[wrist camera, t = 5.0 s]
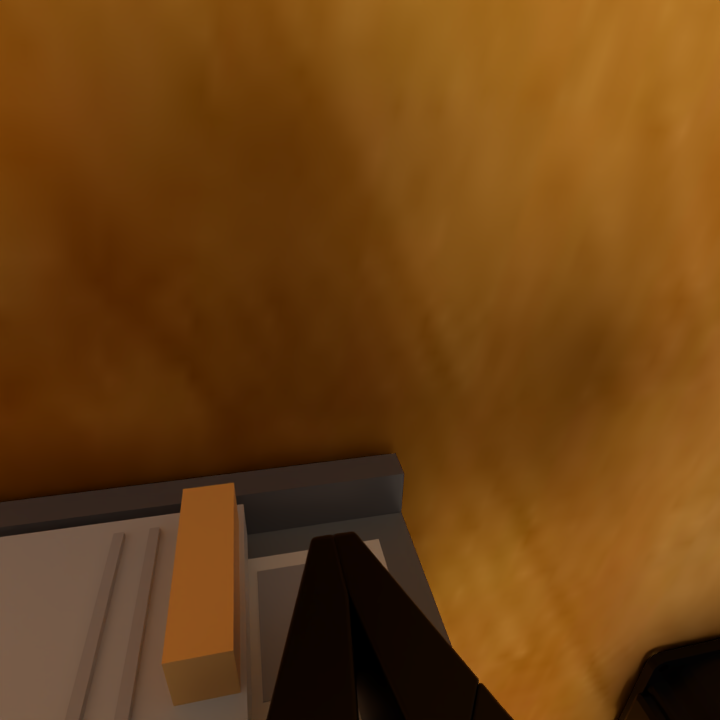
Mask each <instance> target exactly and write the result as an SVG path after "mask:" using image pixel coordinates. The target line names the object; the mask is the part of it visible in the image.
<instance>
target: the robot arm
mask: <svg viewBox="0 0 720 720" xmlns="http://www.w3.org/2000/svg"><path fill="white" fill-rule="evenodd" d="M478 683H479V679H478V678H477V676H476V675H475V674H474V673H473V672H472V671H471V669H470V668H469V667H468V666H467V665H466V663H465V662H464V661H463V660H462V659H461V657H460V656H459V655H458V654H457V653H456V651H455V650H454V649H453V648H452V647H451V646H450V644H449V643H448V642H447V641H446V640H445V638H444V637H443V636H442V635H441V634H440V632H439V631H438V630H437V629H436V628H435V626H434V625H433V624H432V623H431V622H430V621H429V619H428V618H427V617H426V616H425V615H424V613H423V612H422V611H421V610H420V609H419V607H418V606H417V605H416V604H415V603H414V601H413V600H412V599H411V598H410V597H409V595H408V594H407V593H406V592H405V591H404V590H403V588H402V587H401V586H400V585H399V584H398V582H397V581H396V580H395V579H394V578H393V576H392V575H391V574H390V573H389V572H388V570H387V569H386V568H385V567H384V566H383V565H382V563H381V562H380V561H379V560H378V559H377V557H376V556H375V555H374V554H373V553H372V551H371V550H370V549H369V548H368V547H367V545H366V544H365V543H364V542H363V541H362V540H361V538H360V537H359V536H358V535H357V534H356V533H355V532H353V531H350V532H343V533H336V534H334V535H330V534H329V535H323V536H316V537H313V538H312V539H311V542H310V546H309V550H308V554H307V558H306V562H305V566H304V570H303V574H302V578H301V582H300V586H299V590H298V594H297V598H296V602H295V606H294V610H293V614H292V618H291V622H290V626H289V630H288V634H287V638H286V642H285V646H284V650H283V654H282V658H281V662H280V666H279V670H278V674H277V678H276V682H275V686H274V690H273V694H272V698H271V702H270V706H269V710H268V714H267V718H266V720H359V712H360V716H361V719H362V720H514V719H513V718H512V717H511V716H510V715H509V714H508V713H507V711H506V710H505V709H504V708H503V707H502V706H501V705H500V704H499V702H498V701H497V700H496V699H495V698H494V696H493V695H492V694H491V693H490V692H489V690H488V689H487V688H486V687H485V686H484V684H482V683H479V684H478ZM358 708H359V711H358ZM619 720H720V639H718V640H713V641H709V642H704V643H700V644H695V645H691V646H686V647H682V648H677V649H673V650H668V651H664V652H660V653H657V654H655V655H653V656H652V657H650V658H649V659H648V661H647V662H646V664H645V666H644V668H643V670H642V673H641V675H640V677H639V679H638V681H637V683H636V685H635V687H634V689H633V691H632V693H631V695H630V697H629V699H628V701H627V704H626V706H625V708H624V710H623V712H622V714H621V716H620V718H619Z"/></svg>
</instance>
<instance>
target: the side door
mask: <svg viewBox="0 0 720 720" xmlns="http://www.w3.org/2000/svg"><path fill="white" fill-rule="evenodd" d="M0 720H252V689H251V652H250V615H249V579H248V542H247V529H246V521H245V513H244V505H243V504H240V505H237V503H236V495H235V488H234V483H227V484H219V485H211V486H203V487H196V488H188V489H183V494H182V502H181V510H180V513H174V514H167V515H160V516H152V517H145V518H137V519H130V520H123V521H115V522H108V523H101V524H93V525H86V526H79V527H71V528H64V529H57V530H49V531H42V532H34V533H27V534H20V535H12V536H5V537H0Z"/></svg>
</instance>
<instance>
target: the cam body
mask: <svg viewBox="0 0 720 720" xmlns="http://www.w3.org/2000/svg"><path fill="white" fill-rule="evenodd" d="M403 482H404V472H403V470H402V467H401V465H400V463H399V460H398V458H397V456H396V453H393V454H385V455H377V456H369V457H361V458H353V459H344V460H336V461H328V462H320V463H312V464H304V465H296V466H288V467H280V468H272V469H264V470H256V471H248V472H240V473H232V474H224V475H216V476H208V477H200V478H192V479H184V480H176V481H168V482H160V483H152V484H144V485H135V486H127V487H119V488H111V489H103V490H95V491H87V492H79V493H71V494H63V495H55V496H47V497H39V498H31V499H23V500H15V501H7V502H0V537H5V536H12V535H20V534H27V533H34V532H42V531H49V530H57V529H64V528H71V527H79V526H86V525H93V524H101V523H108V522H115V521H123V520H130V519H137V518H145V517H152V516H160V515H167V514H174V513H180V510H181V502H182V494H183V489H188V488H196V487H203V486H211V485H219V484H227V483H234V488H235V495H236V503H237V505H240V504H243V505H244V513H245V521H246V529H247V542H248V579H249V615H250V652H251V689H252V720H266V718H267V714H268V710H269V706H270V702H271V698H272V694H273V690H274V686H275V682H276V678H277V674H278V670H279V666H280V662H281V658H282V654H283V650H284V646H285V642H286V638H287V634H288V630H289V626H290V622H291V618H292V614H293V610H294V606H295V602H296V598H297V594H298V590H299V586H300V582H301V578H302V574H303V570H304V566H305V562H306V558H307V554H308V550H309V546H310V542H311V539H312V538H313V537H316V536H323V535H329V534H330V535H334V534H336V533H343V532H350V531H353V532H355V533H356V534H357V535H358V536H359V537H360V538H361V540H362V541H363V542H364V543H365V544H366V545H367V547H368V548H369V549H370V550H371V551H372V553H373V554H374V555H375V556H376V557H377V559H378V560H379V561H380V562H381V563H382V565H383V566H384V567H385V568H386V569H387V570H388V572H389V573H390V574H391V575H392V576H393V578H394V579H395V580H396V581H397V582H398V584H399V585H400V586H401V587H402V588H403V590H404V591H405V592H406V593H407V594H408V595H409V597H410V598H411V599H412V600H413V601H414V603H415V604H416V605H417V606H418V607H419V609H420V610H421V611H422V612H423V613H424V615H425V616H426V617H427V618H428V619H429V621H430V622H431V623H432V624H433V625H434V626H435V628H436V629H437V630H438V631H439V632H440V634H441V635H442V636H443V637H444V638H445V640H446V641H447V642H448V643H449V644H450V646H451V647H452V645H451V643H450V640H449V638H448V635H447V632H446V630H445V627H444V624H443V622H442V619H441V616H440V614H439V611H438V608H437V606H436V603H435V600H434V598H433V595H432V593H431V590H430V587H429V585H428V582H427V579H426V577H425V574H424V571H423V569H422V566H421V563H420V561H419V558H418V555H417V553H416V550H415V548H414V545H413V542H412V540H411V537H410V534H409V532H408V529H407V526H406V524H405V521H404V518H403V516H402V513H401V508H402V495H403ZM358 711H359V708H358ZM359 720H362V719H361V716H360V712H359Z"/></svg>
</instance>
